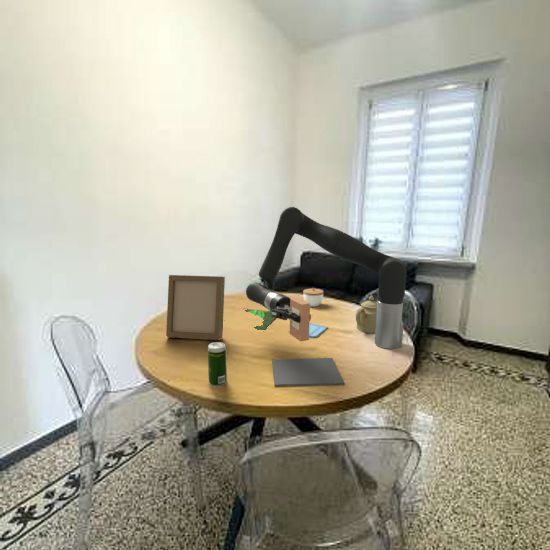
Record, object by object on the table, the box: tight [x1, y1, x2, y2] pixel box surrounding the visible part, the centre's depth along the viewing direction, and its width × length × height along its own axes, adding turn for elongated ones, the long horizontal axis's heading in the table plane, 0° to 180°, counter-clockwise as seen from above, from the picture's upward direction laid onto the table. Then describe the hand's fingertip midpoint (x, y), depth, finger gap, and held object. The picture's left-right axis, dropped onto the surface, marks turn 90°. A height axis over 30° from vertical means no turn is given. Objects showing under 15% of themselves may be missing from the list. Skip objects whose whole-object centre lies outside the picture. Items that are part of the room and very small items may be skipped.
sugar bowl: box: [355, 294, 377, 334], centre depth 146 cm, size 15×11×15 cm
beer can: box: [207, 341, 228, 388], centre depth 103 cm, size 5×5×12 cm
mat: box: [271, 357, 346, 387], centre depth 111 cm, size 21×17×1 cm
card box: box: [289, 297, 311, 342], centre depth 110 cm, size 3×7×12 cm, turn 27°
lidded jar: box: [302, 287, 325, 308], centre depth 182 cm, size 11×11×9 cm
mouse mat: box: [245, 308, 277, 331], centre depth 160 cm, size 27×22×1 cm
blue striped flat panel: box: [288, 322, 328, 339], centre depth 147 cm, size 14×12×1 cm
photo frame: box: [165, 274, 226, 341], centre depth 140 cm, size 15×22×25 cm
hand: (304, 318), depth 107 cm, fingers closed on card box, 3 cm apart
